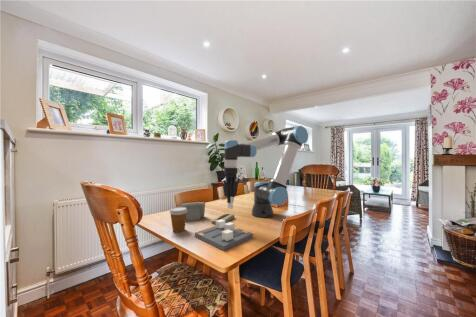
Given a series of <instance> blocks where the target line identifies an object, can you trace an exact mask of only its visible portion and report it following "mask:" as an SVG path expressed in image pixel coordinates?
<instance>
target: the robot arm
mask: <svg viewBox="0 0 476 317" xmlns="http://www.w3.org/2000/svg"><path fill="white" fill-rule="evenodd" d="M308 140H309V132H308V130H307V128H306V127H304V126H302V125H295V126H291V127H285V128H282V129H280V130H277V131H275V132H272V133H271V134H269V135H266V136H263V137H260V138H256V139H252V140H250V141H246V142H243V143H239V141H238V140H235V139H227V140H225V142H224V170H223V171H224V172H223V173H224V178H223V179H221V181H220V182H221V184H222V189H223V195H224V197H226V199H227V200H226V202H227V209H229V210H232V209H234V200H235V199H234V198H235V197H236V196H237V194H238V188H239V187H238V186H239V183H240V178H238V177H237V174H238V168H237V167H238V161H239V160H238V158H254V157H255V156H257V151H260V150H263V149H266V148H270V147H273V146H276V147H278V146H281V145H282V146H283V145H284V147H283V151H282V153H281V156H280V159H279V161H278V164H277V166H276V170H275V173H274V175H273V178H272V179H270V180H269V181H256V182H254V184H253V191H254V192H253V193H254V194H253V198H254V199H253V206H252V210H251V215H252V216H253V217H256V218H265V219H266V218H272V217H273V216H274V210H273V207H272V205H275V206H280V205H283V204H284V203H286V201H287V199H288V197H289V193H288V189H287V188H288V185H287V181H288V178H289V176H290V173H291V169H292V168H293V164H294V162H295V158H296V156H297V152H298V151H299V150H300V149H301V148H302V146H303V145H304V144H306V143H307V142H308Z"/></svg>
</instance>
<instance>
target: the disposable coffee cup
mask: <svg viewBox="0 0 476 317" xmlns="http://www.w3.org/2000/svg"><path fill="white" fill-rule="evenodd" d="M186 213H187V208H186V207H180V206H176V207H172V208H170V210H169V214H170V218H171V219H170V220H171V226H172V232H174V233H181V232H184V231H185V228H186V222H187V221H186Z"/></svg>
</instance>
